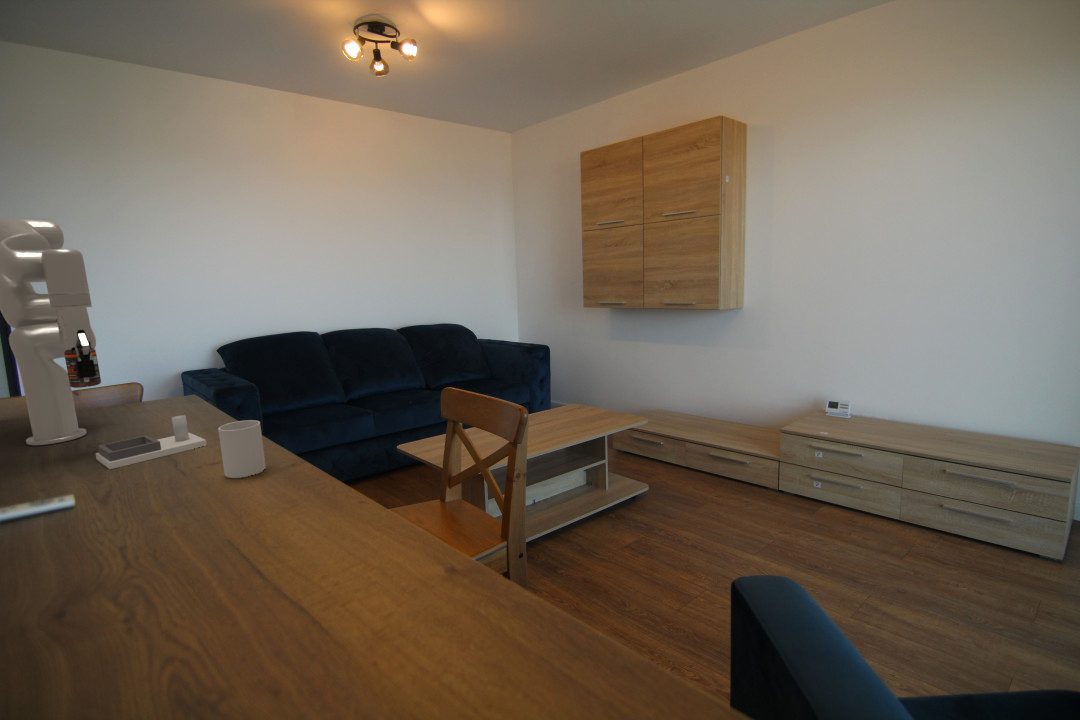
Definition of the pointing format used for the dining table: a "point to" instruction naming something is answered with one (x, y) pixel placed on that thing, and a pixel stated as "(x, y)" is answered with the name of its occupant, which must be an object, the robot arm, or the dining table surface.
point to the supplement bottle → (73, 372)
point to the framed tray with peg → (149, 446)
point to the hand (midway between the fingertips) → (84, 375)
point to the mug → (242, 448)
